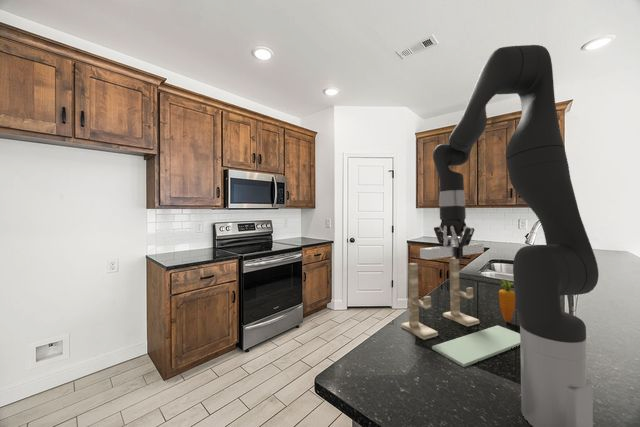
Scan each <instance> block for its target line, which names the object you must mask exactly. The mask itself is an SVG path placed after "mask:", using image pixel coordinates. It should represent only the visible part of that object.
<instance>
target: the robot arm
mask: <svg viewBox="0 0 640 427" xmlns="http://www.w3.org/2000/svg"><path fill="white" fill-rule="evenodd" d="M514 94H516V95H518V96H519V99H520V105H521V116H520V119H519V122H518V124H517V126H516V128H515V130H514V132H513V134H512V136H511V138H510V139H509V142H508V144H507V146H506V151H505V161H506V165H507V172H508V177H509V178H508V179H509V182H510V184H511V186H512V187H513V189H514V190H515V192H516V193H517V194H518V195H519V197H520V198H521V199H522V200H523V202H524V203H525V204H526V205H527V206H528V207H529V208H530V209H531V210H532V212H533V213H534V214H535V216H536V217H537V219H538V220H539V223H540V225H541V229H542V231H543V234H544V241H545V244H531V245H525V246H523V247H520V248H519V249H518V250H517V251H516V253H515V256H514V257H513V262H512V276H513V288H514V293H515V308H516V311H517V314H518V316H519V329H520V330H519V334H520V348H519V349H520V394H521V395H520V396H521V397H520V398H521V399H520V402H521V414H522V416H524V417H523V418H524V420H525V421H526V420H527V421H528V422H527V421H526V422H527V423H529V425H531V426H532V427H594V411H593V410H594V408H593V407H594V406H593V405H594V404H593V403H594V402H593V400H594V393H593V390H594V389H593V386H594V385H593V384H594V383H593V381H592V380H591V379H588V378H587V377H588V376H587V373H588V372H587V369H588V368H587V328H586V324H585V322H584V321H583V320H582V319H581V318H579V317H577V316H576V315H574V314H571V313H569V312H566V311H563V310H562V306H561V298H560V296H574V295H575V296H576V295H585V294H588V293H590V292H592V291H593V290H594V289H595V287H596V286H597V285H598V281H599V266H598V262H597V259H596V256H595V253H594V249H593V247H592V244H591V242H590V239H589V237H588V233H587V231H586V228H585V225H584V222H583V220H582V217H581V214H580V213H581V212H580V210H579V207H578V203H577V198H576V196H575V192H574V187H573V184H572V180H571V172H570V167H569V163H568V161H569V160H568V158H567V157H568V156H567V152H566V148H565V145H564V142H563V137H562V134H561V128H560V123H559V118H558V113H557V112H558V111H557V106H556V98H555V86H554V73H553V64H552V57H551V54H550V52H549V50H548V49H547V48H546V47H545V46H543V45H539V44H525V45H523V44H521V45H509V46H502V47H499V48H496V50H494V51H493V52H492V53H491V54H490V56H488V58H487V60H486V61H485V63H484V64H483V67H482V69H481V71H480V73H479V75H478V78H477V80H476V83H475V85H474V87H473V90H472V93H471V95H470V96H469V99H468V102H467V104H466V107H465V109H464V112H463V114H462V116H461V118H460V119H459V121H458V122H457V124H456V125H455V127H454V129H453V130H452V132H451V133H450V135H449V137H448V143H440V144H438V145H436V147H435V148H434V149H433V153H432V159H433V160H432V161H433V163H434V164H433V165H434V166H435V169H436V172H437V176H438V180H439V198H438V199H439V203H438V204H439V219H440V221H441V222H440V225H439V226H436V227H435V226H434V227H433V231H434V233H435V236H436V238H437V241H438V243H439V244H440V245H443V246H451V245H452V244H453V243H452V242H453V241H454V245H455V246H456V247H455V256H454V258H455V259H459V260H461V259H463V257H464V255H463V247H464V246H467V245H469V244H471V240H472V238H473V235H474V232H475V228H474V227H469V226H467V224H466V221H465V220H466V218H467V217H466V216H467V215H466V214H467V213H466V197H465V186H464V184H465V183H464V182H465V181H464V175H463V174H462V173H461V172H458V171H457V172H456V171H453V170H452V169H451V168H450V167H454V166H462V165H465V164H466V163H467V162H468V161H469V158H470V155H471V151H472V149H473V148H474V147H473V146H474V144H475V143H476V142H477V141H478V140H479V139H480V137H481V136H482V134H484V132H485V130H486V126H487V124H488V123H487V121H488V115H487V110H486V109H487V105H488V103H489V102H490V101H491V100H492V98H494V96H496V95H514ZM445 258H447V259H450V258H452V257H445Z"/></svg>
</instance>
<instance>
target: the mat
mask: <svg viewBox="0 0 640 427" xmlns="http://www.w3.org/2000/svg"><path fill="white" fill-rule="evenodd" d="M519 345H520V332H517V331H514V330H511V329H508V328H506V327H503V326H500V325H498V324H497V325H495V326H491V327H488V328H486V329H485V328H484V329H481V330H479V331H475V332H472V333H470V334H466V335H463V336H460V337H457V338H454V339H451V340H447V341H444V342H441V343H438V344H435V345H432V346H431V349H432V350H433V351H435V352H436V353H438V354H440V355H442V356H443V357H445V358H447V359H449V360H451V361H452V362H454V363H455V364H457V365H459V366H461V367H462V368H465V367H468V366H471V365H473V364H475V363H478V361H479V362H481V361H483V360H486V359H489V358H492V357H494V356H497V355H499V354H502V353H504V352H506V351H509V350H511V348H512V349H514V347H515V348H517V347H519ZM516 346H517V347H516Z"/></svg>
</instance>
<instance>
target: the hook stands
mask: <svg viewBox="0 0 640 427" xmlns="http://www.w3.org/2000/svg"><path fill="white" fill-rule="evenodd" d="M418 266H419V265H418V263H416V262H410V263H407V271H408V272H407V273H408V274H407V278H408V279H407V281H408V282H407V283H408V284H407V285H408V286H407V287H408V289H407V290H408V317H409V318H408V321H407V322H401V323H400V324H401V328H402V329H404V330H406V331H408V332H409V333H411V334H413V335H414V336H416V337H418V338H420V339H422V340H424V341H425V340H428V339H432V338H435V337H437V336H439V331H437V330H435V329H433V328H431V327H429V326H427V325H425V324H423V323H421V322H420V316H419V315H420V314H419V312H420V311H419V307H420V308H422V309H425V310H427V309H431V308H432V296H430V295H427V296H422V300H421V299H419V267H418ZM449 293H450V294H449V297H450V300H449V301H450V311H445V312H443V313H442V316H443V317H444V318H446V319H449V320H451V321H454V322H456V323H458V324H461V325H463V326H466V327H471V326H474V325H478V324H480V319H478V318H476V317H473V316H470V315H467V314H465V313H462V312H461V304H460V302H461V299H460V298H461V297H462V298H464V299H469V300H470V299H473V298H474V287H471V286H469V287H466V288H465V291H461V290H460V259H455V257H451V258H449Z"/></svg>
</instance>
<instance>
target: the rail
mask: <svg viewBox="0 0 640 427" xmlns="http://www.w3.org/2000/svg"><path fill="white" fill-rule="evenodd" d="M484 245H485V244H484V243H478V242H474V243H473V242H472V243H469V245H467V246H464V247H463V256H468V255H474V254H475V255H476V254H483V253H484V254H485V251H484V250H485V246H484ZM455 247H456V246H455V244H453V245H452V244H451V246H444V245H443V246H433V247H432V246H431V247H422V248H419V258H420V259H424V260H435V259H443V258H446V257H451V258H453V257H455Z"/></svg>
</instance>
